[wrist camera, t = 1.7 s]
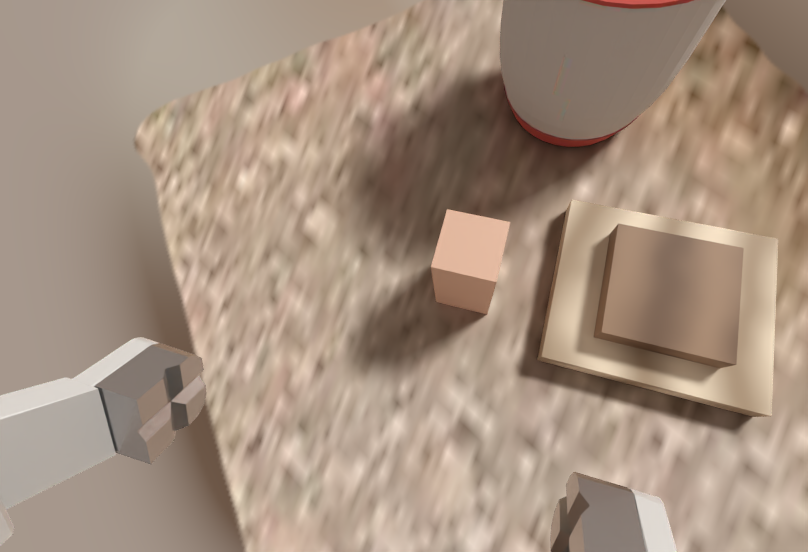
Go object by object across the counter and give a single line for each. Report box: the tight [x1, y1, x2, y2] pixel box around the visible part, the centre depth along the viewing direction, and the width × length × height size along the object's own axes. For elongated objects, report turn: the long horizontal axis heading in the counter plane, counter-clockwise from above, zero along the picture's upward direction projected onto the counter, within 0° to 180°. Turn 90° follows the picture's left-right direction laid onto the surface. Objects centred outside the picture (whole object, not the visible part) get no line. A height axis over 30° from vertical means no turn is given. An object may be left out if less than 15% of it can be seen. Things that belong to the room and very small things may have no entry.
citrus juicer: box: [500, 0, 726, 147], centre depth 34 cm, size 16×17×20 cm
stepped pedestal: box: [537, 200, 778, 417], centre depth 34 cm, size 16×14×4 cm
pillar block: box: [431, 209, 510, 314], centre depth 34 cm, size 4×4×9 cm
